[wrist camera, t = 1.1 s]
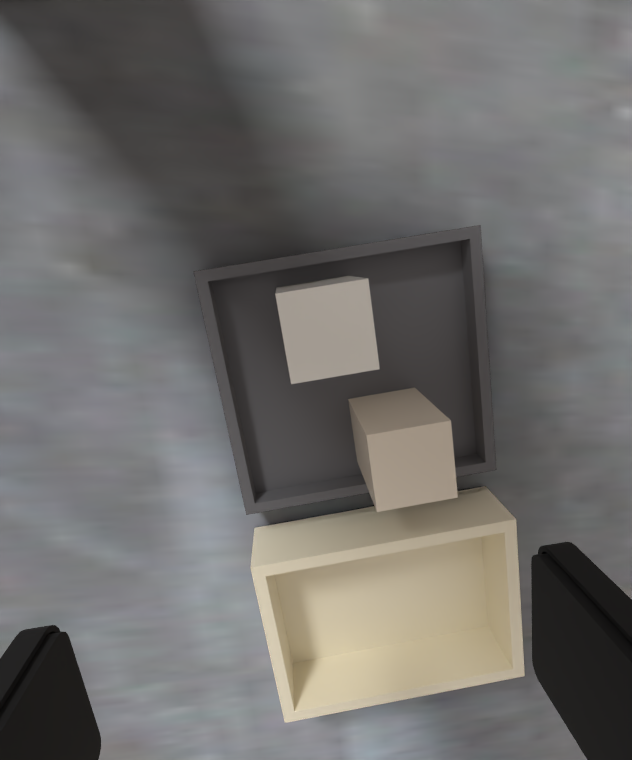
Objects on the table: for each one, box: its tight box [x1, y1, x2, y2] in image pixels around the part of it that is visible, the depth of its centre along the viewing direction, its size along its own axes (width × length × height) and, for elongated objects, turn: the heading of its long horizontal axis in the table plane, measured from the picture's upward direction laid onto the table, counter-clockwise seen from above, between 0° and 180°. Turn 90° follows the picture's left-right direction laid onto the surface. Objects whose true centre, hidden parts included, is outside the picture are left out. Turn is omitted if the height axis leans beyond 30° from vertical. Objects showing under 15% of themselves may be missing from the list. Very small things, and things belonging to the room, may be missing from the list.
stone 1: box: [275, 276, 380, 384], centre depth 23 cm, size 4×4×6 cm
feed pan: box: [194, 225, 496, 515], centre depth 26 cm, size 14×15×2 cm
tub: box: [251, 486, 525, 723], centre depth 29 cm, size 11×15×4 cm
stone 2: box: [348, 388, 458, 512], centre depth 25 cm, size 4×4×6 cm
